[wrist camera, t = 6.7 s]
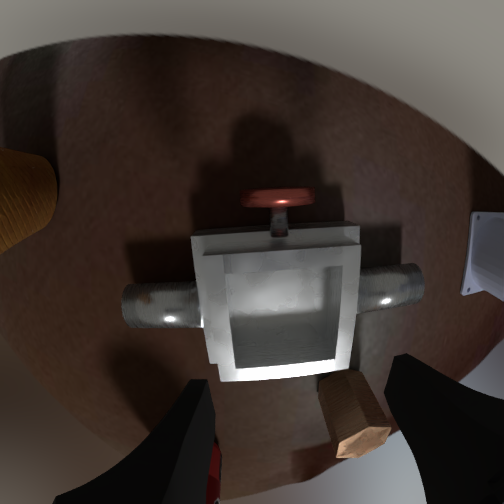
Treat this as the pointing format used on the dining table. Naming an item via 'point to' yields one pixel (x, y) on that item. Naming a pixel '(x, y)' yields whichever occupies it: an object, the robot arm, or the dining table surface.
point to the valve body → (275, 292)
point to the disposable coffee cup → (24, 195)
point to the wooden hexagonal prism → (352, 414)
